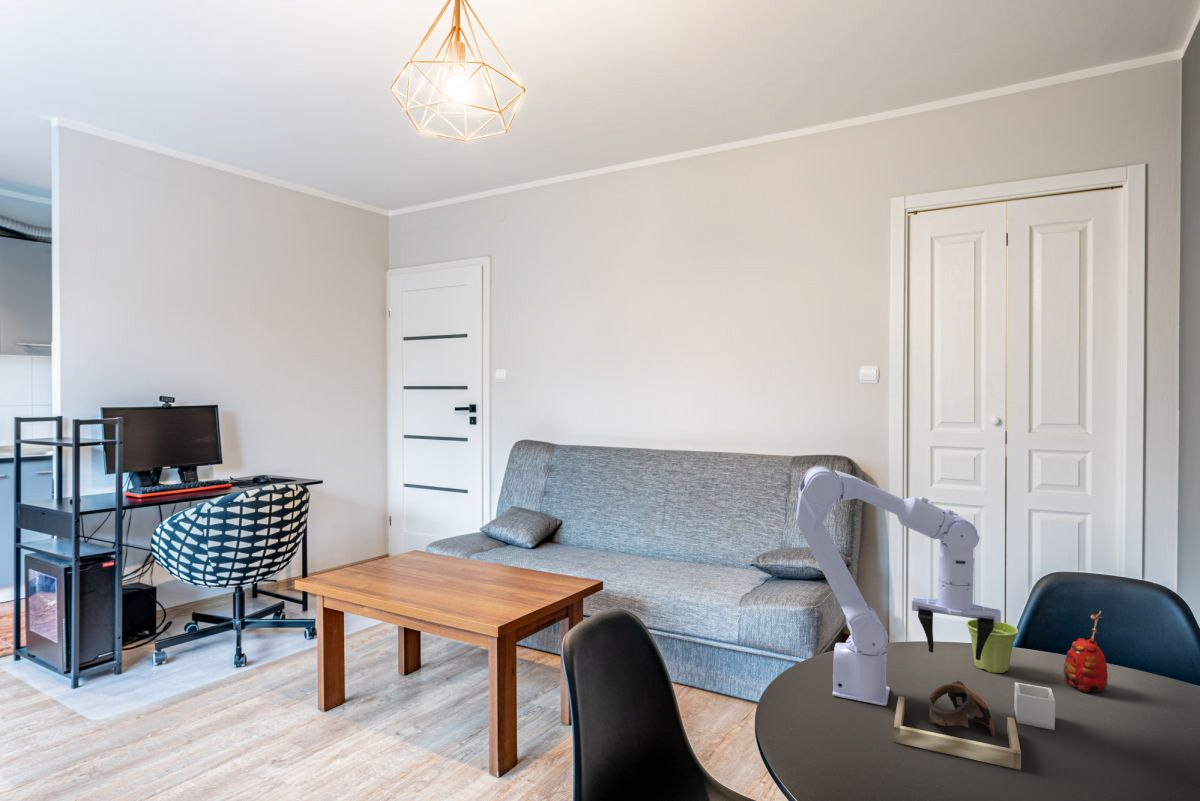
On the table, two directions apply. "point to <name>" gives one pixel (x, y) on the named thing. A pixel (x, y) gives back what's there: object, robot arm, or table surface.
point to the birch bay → (959, 742)
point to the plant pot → (994, 646)
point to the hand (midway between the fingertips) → (954, 654)
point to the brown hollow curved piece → (959, 707)
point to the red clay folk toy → (1086, 664)
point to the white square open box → (1034, 706)
